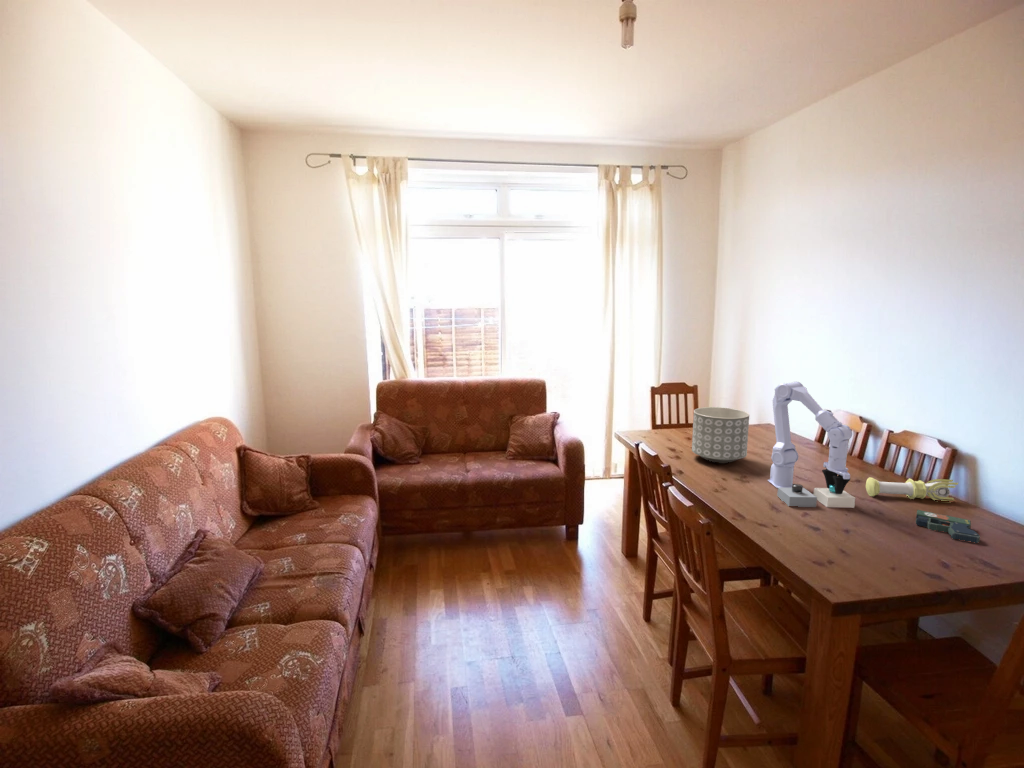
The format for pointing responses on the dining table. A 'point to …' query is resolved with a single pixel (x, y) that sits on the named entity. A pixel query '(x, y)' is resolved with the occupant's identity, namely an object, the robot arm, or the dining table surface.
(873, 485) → the yellow toy scepter
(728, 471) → the dining table surface
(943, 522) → the gun
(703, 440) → the planter
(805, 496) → the grey block
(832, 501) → the cream block
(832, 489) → the teal round knob
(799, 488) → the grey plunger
